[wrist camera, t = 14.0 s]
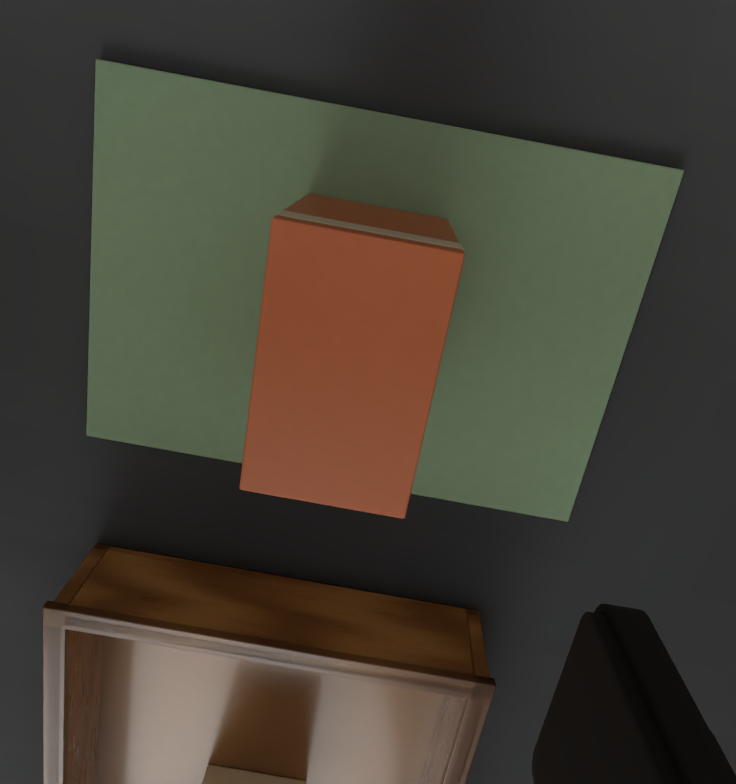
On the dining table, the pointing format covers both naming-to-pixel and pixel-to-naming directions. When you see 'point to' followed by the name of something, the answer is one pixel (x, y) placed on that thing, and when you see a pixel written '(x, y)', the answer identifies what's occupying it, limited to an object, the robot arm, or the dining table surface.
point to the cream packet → (243, 777)
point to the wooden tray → (253, 678)
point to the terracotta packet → (348, 352)
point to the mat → (380, 188)
